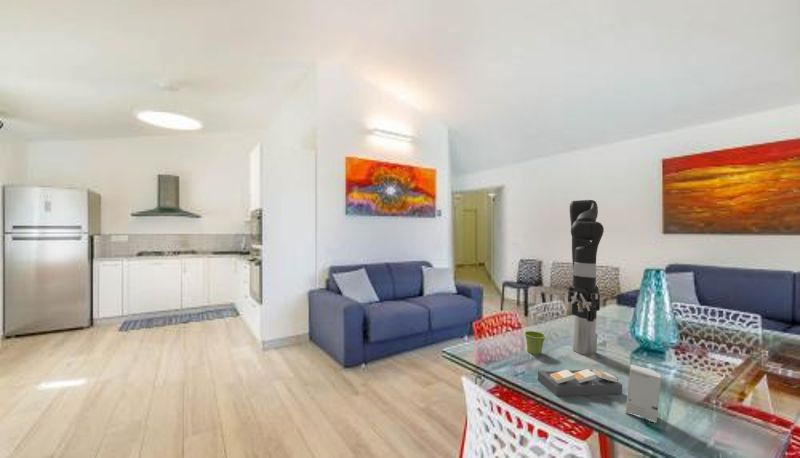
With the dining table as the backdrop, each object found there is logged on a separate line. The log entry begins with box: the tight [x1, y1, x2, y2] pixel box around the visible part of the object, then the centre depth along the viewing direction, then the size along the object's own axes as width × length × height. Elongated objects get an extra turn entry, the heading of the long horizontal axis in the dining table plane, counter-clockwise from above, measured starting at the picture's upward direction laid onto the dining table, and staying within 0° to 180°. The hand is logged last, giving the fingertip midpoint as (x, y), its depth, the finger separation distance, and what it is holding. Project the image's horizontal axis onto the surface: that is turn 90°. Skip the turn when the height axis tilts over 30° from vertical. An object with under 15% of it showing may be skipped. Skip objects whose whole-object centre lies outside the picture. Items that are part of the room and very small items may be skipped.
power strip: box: [537, 369, 623, 397], centre depth 124 cm, size 32×12×4 cm, turn 98°
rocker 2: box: [573, 368, 596, 383], centre depth 121 cm, size 7×4×2 cm, turn 98°
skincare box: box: [625, 364, 662, 423], centre depth 106 cm, size 8×6×15 cm
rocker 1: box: [550, 369, 575, 384], centre depth 120 cm, size 7×4×2 cm, turn 98°
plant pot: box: [524, 330, 547, 355], centre depth 157 cm, size 9×9×9 cm
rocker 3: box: [591, 368, 619, 382], centre depth 122 cm, size 7×4×2 cm, turn 99°
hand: (582, 317), depth 123 cm, fingers open, 8 cm apart
